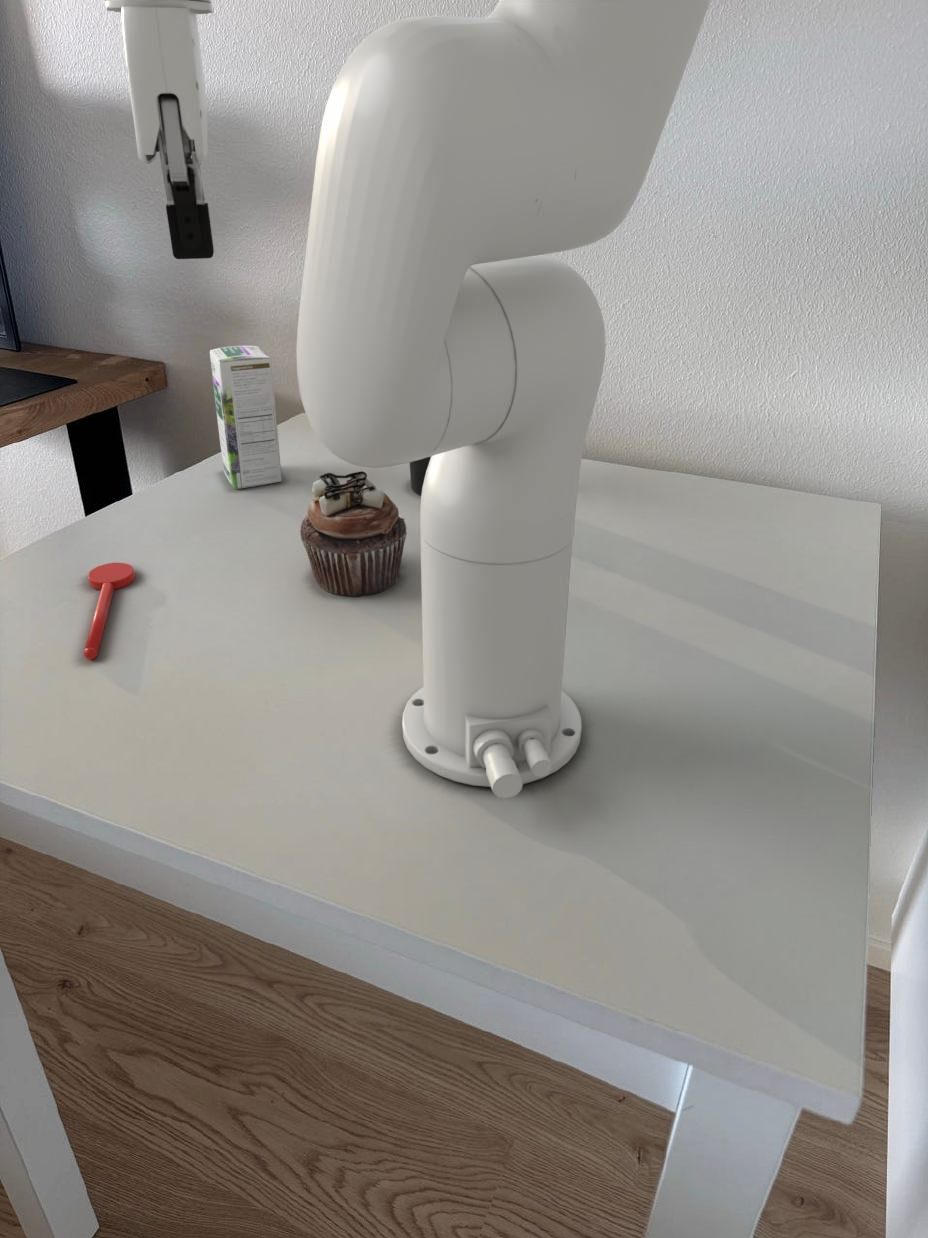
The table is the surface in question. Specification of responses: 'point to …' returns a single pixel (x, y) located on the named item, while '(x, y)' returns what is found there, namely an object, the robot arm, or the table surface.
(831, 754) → the table surface
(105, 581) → the spoon
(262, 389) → the syrup box
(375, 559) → the cupcake
